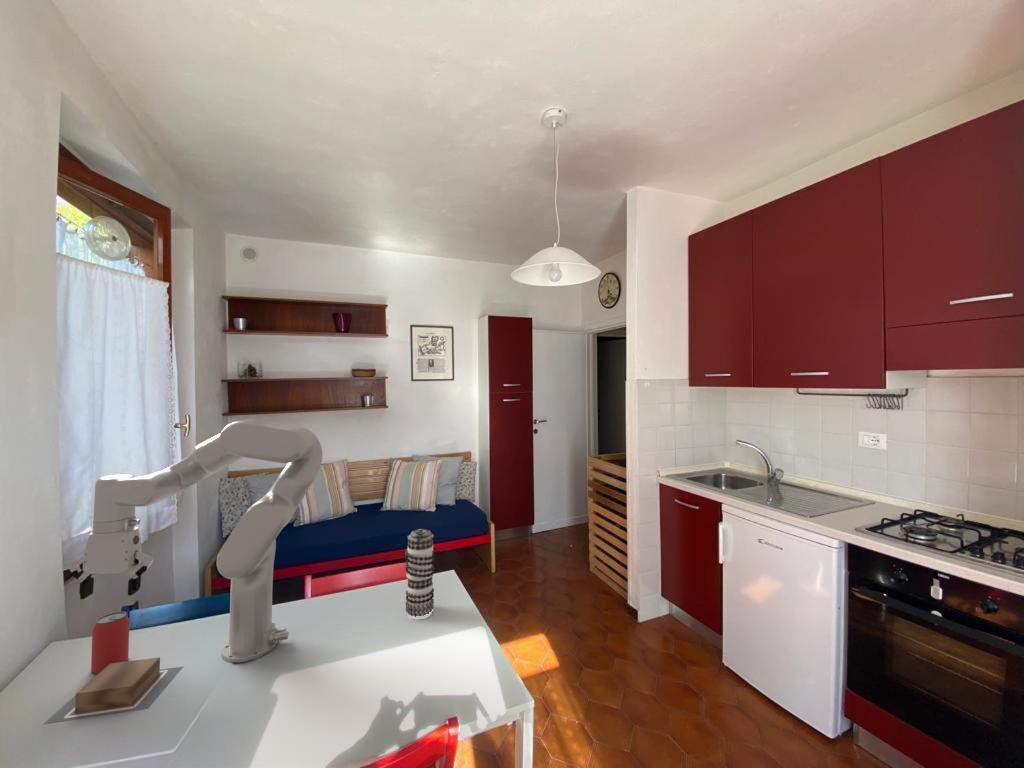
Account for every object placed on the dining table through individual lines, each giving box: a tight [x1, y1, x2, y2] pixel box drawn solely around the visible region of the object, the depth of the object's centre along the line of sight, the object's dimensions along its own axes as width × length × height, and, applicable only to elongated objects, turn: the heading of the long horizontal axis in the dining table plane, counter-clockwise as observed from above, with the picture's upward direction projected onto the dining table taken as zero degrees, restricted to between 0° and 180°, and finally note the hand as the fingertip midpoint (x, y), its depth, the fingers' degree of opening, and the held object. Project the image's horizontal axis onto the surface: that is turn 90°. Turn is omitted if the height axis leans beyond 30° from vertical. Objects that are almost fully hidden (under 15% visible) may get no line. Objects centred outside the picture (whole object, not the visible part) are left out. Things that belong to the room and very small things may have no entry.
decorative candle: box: [404, 528, 436, 617], centre depth 127 cm, size 9×9×25 cm
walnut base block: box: [75, 656, 161, 713], centre depth 92 cm, size 10×10×4 cm
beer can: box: [90, 611, 130, 674], centre depth 102 cm, size 7×7×12 cm
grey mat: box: [43, 666, 184, 725], centre depth 92 cm, size 18×14×1 cm
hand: (110, 594), depth 102 cm, fingers open, 9 cm apart
